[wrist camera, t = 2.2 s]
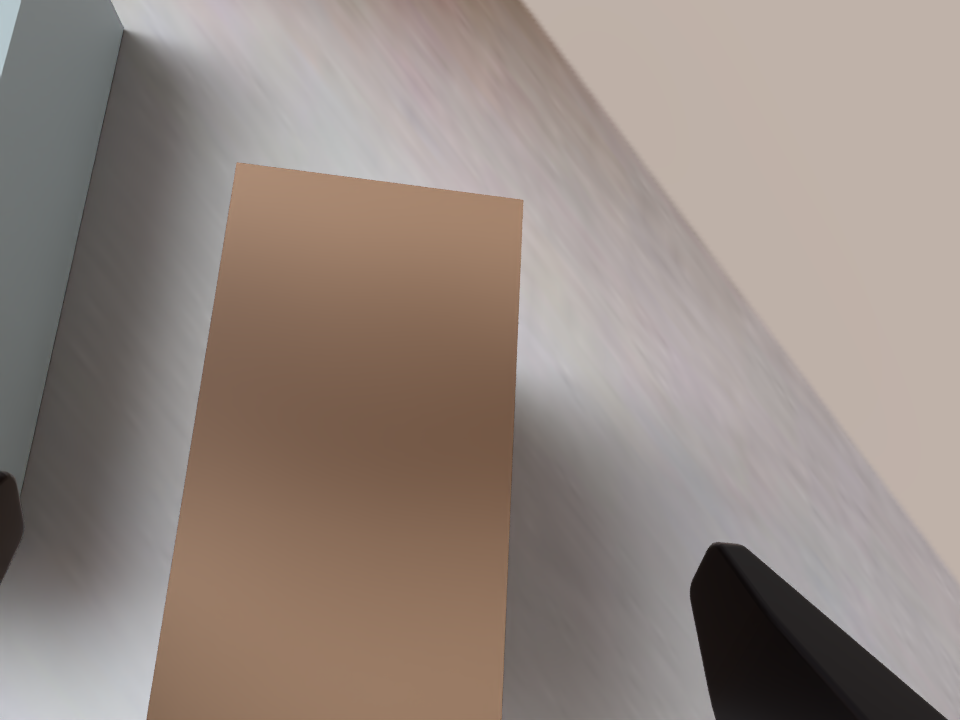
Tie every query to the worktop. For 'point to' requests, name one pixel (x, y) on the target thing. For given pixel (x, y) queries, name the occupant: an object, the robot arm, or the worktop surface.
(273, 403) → the brown rectangular block
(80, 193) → the light blue tray
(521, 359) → the worktop surface
